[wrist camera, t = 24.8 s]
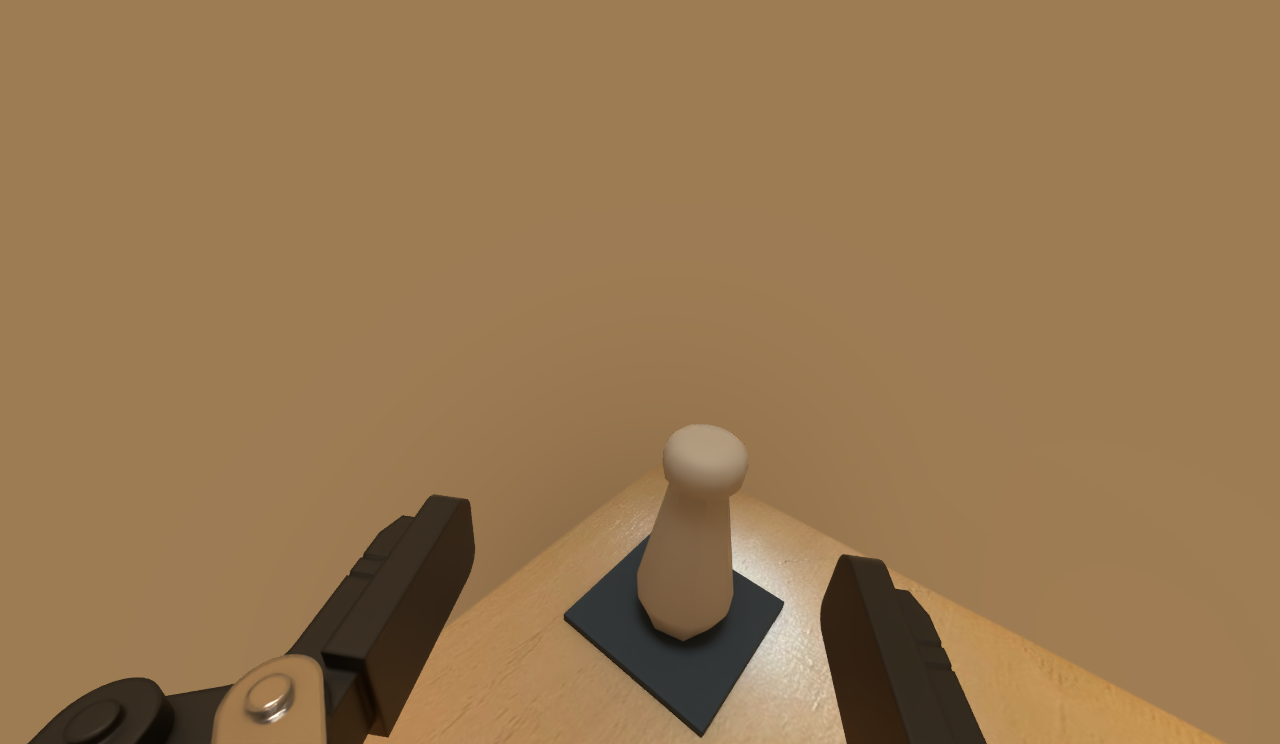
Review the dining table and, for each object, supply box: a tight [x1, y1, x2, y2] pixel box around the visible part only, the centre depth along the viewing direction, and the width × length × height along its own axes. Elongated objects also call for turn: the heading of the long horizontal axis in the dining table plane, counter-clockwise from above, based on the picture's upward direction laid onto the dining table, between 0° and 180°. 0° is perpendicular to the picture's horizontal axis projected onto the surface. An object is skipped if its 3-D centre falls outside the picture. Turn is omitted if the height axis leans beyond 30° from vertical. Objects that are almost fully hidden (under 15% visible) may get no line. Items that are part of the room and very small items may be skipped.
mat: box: [564, 534, 784, 737], centre depth 31 cm, size 10×10×1 cm
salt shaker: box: [637, 424, 748, 641], centre depth 28 cm, size 6×6×13 cm
